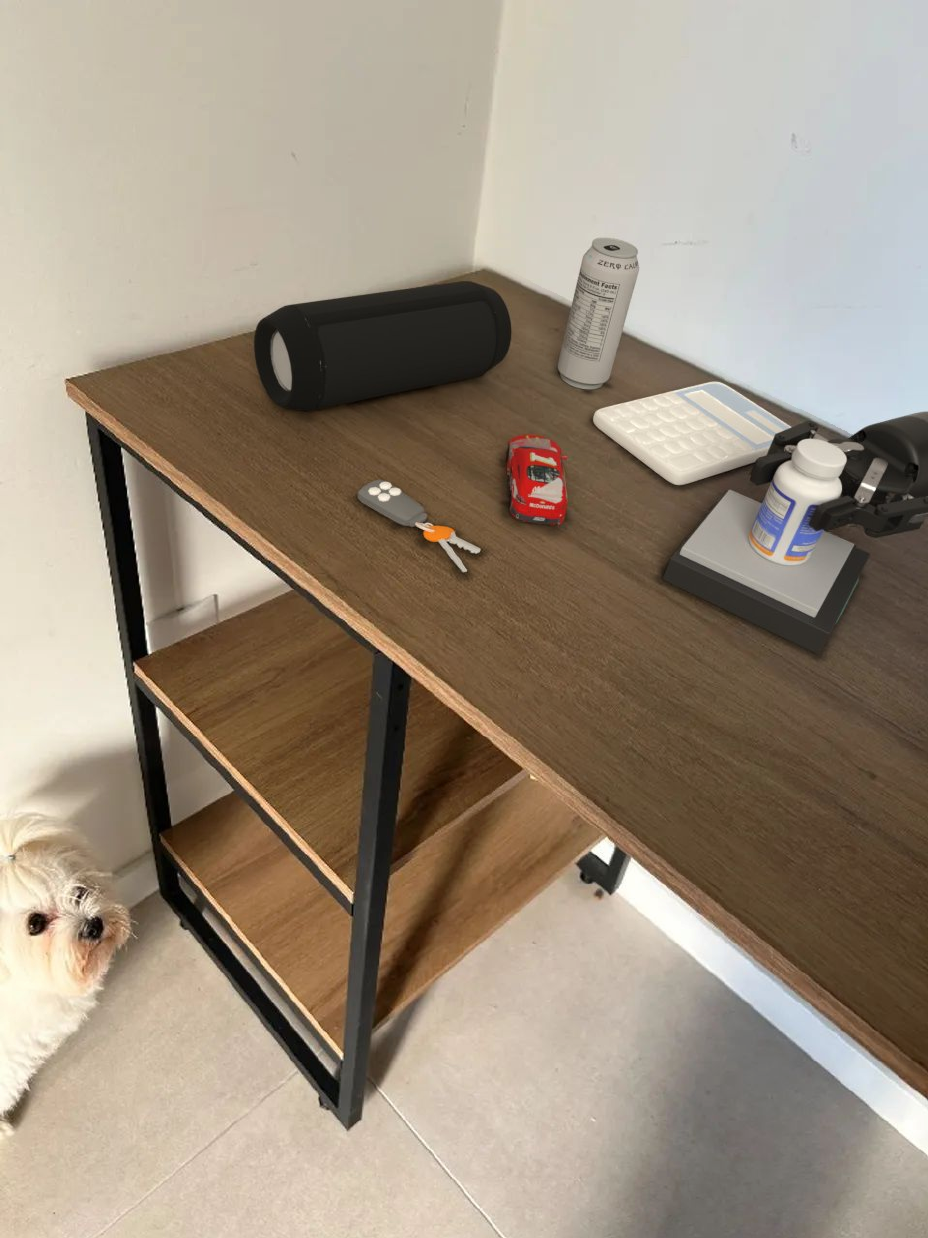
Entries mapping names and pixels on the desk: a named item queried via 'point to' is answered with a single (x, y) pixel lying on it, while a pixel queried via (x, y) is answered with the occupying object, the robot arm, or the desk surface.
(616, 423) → the calculator
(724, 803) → the desk surface
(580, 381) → the energy drink can
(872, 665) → the desk surface
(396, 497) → the key chain
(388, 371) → the portable speaker
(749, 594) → the scale
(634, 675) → the desk surface
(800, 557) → the pill bottle
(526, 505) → the race car
